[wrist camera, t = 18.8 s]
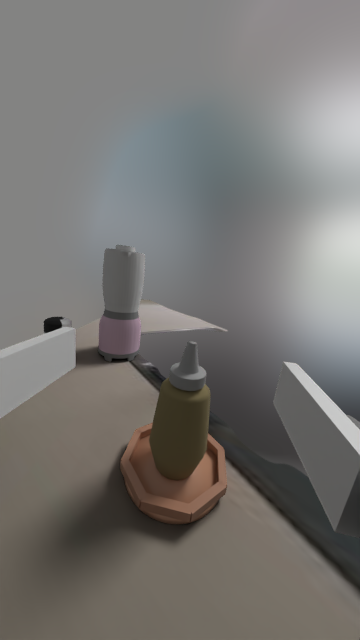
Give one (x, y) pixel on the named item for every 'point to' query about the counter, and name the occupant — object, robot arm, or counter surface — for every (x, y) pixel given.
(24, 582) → the counter surface
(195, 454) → the squeeze bottle
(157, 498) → the dish
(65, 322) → the medicine bottle
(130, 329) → the blender
